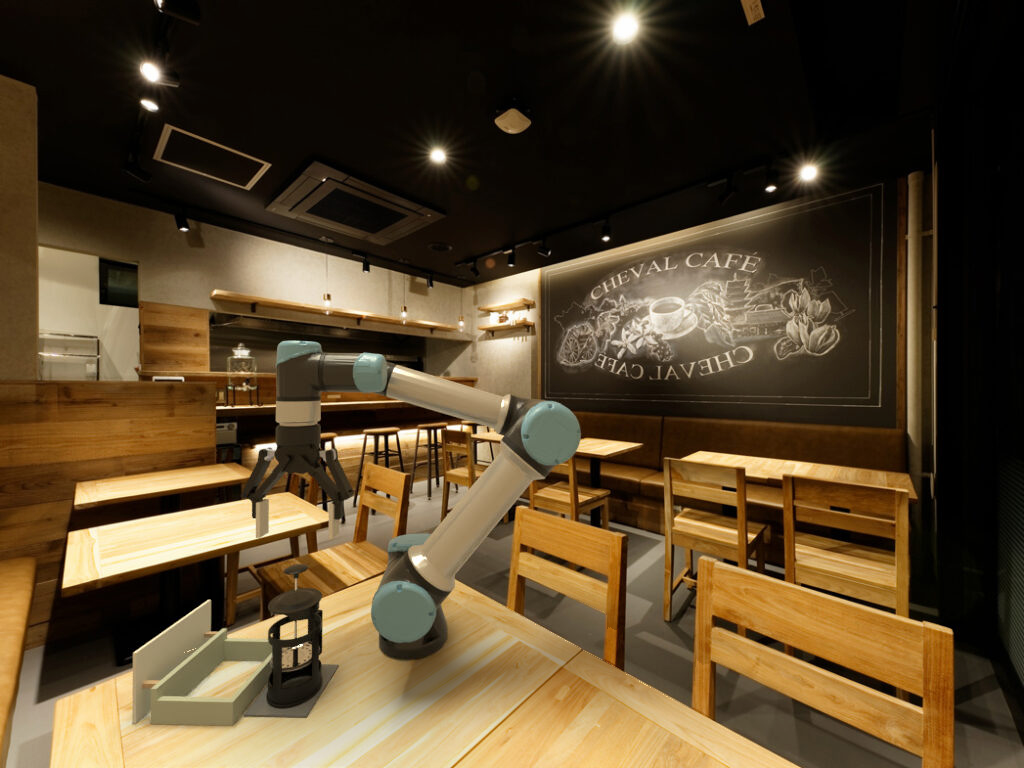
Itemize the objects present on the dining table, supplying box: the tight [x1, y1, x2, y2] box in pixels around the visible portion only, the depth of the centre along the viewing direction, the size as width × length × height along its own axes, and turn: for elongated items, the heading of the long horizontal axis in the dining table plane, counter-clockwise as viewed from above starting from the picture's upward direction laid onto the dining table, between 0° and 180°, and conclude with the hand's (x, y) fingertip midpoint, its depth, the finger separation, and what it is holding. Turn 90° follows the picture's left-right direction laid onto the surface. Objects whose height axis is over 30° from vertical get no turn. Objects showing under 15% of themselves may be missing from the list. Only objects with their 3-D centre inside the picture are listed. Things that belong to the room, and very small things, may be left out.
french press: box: [266, 563, 324, 708], centre depth 78 cm, size 12×9×23 cm
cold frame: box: [131, 599, 289, 727], centre depth 78 cm, size 17×17×12 cm
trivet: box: [242, 663, 340, 719], centre depth 78 cm, size 11×13×1 cm
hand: (297, 535), depth 78 cm, fingers open, 13 cm apart
